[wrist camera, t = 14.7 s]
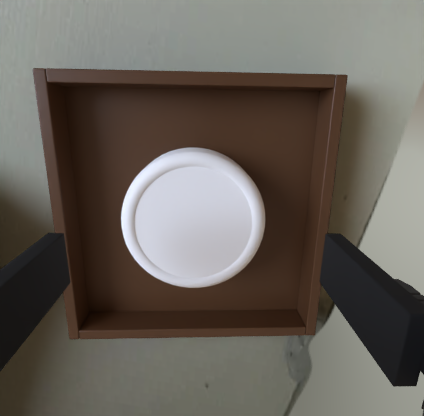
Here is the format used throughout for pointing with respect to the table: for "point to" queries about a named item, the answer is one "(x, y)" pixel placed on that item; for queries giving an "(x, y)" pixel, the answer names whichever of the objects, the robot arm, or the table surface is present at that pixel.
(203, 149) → the coaster
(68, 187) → the holder
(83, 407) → the table surface
